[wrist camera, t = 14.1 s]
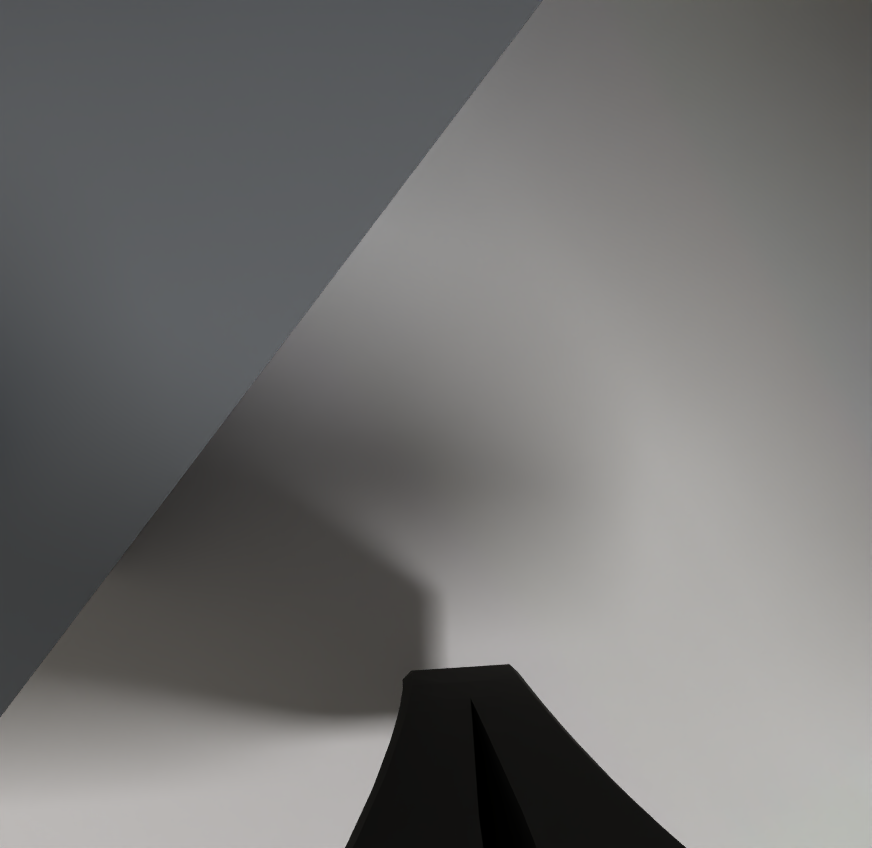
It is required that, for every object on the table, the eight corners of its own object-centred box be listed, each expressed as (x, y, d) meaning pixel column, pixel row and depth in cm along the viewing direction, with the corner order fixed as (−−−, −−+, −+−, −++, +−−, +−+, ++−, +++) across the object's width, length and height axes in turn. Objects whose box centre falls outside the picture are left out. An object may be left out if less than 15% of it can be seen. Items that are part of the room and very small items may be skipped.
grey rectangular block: (611, -105, 9) (989, -577, 3) (108, 563, 10) (-168, 947, 5) (274, -445, 8) (68, -1880, 2) (-226, 355, 9) (-1010, 562, 4)
